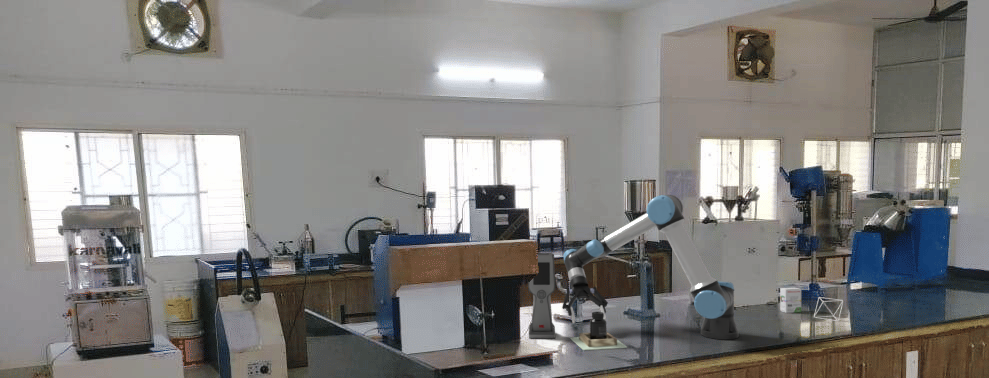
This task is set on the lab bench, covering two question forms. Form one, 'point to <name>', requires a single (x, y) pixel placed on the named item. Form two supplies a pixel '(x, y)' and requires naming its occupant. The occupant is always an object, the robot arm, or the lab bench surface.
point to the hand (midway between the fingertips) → (589, 320)
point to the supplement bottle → (598, 326)
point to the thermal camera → (542, 298)
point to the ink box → (790, 300)
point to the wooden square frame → (597, 340)
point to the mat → (585, 347)
